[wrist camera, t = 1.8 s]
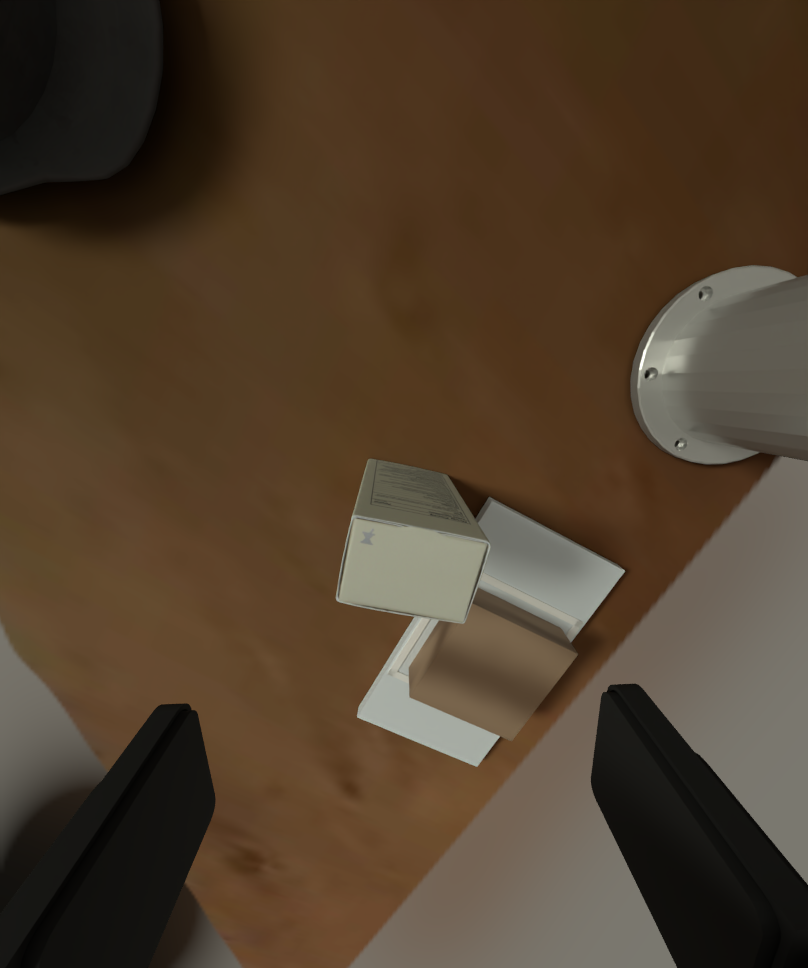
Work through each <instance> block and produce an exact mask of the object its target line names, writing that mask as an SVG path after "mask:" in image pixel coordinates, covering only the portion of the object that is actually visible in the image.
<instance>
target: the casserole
mask: <svg viewBox="0 0 808 968" xmlns="http://www.w3.org/2000/svg"><path fill="white" fill-rule="evenodd" d="M162 74H163V21H162V14H161V7H160V0H0V195H3V194H7V193H10V192H14V191H17V190H21V189H24V188H28V187H31V186H35V185H38V184H41V183H45V182H79V181H90V180H102V179H108V178H110V177H111V176H113V175H114V174H116V173H118V172H119V171H121V170H122V169H124V168H125V167H127V166H128V165H129V164H130V162H131V161H132V159H133V158H134V156H135V155H136V153H137V152H138V150H139V149H140V147H141V146H142V144H143V143H144V141H145V138H146V135H147V133H148V130H149V127H150V125H151V122H152V119H153V117H154V114H155V111H156V107H157V102H158V96H159V90H160V85H161V79H162Z"/></svg>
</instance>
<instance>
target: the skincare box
mask: <svg viewBox="0 0 808 968" xmlns="http://www.w3.org/2000/svg"><path fill="white" fill-rule="evenodd" d="M490 549H491V543H490V542H489V540H488V539H487V537H486V535H485V534H484V532H483V531H482V529H481V528H480V526H479V524H478V523H477V521H476V520H475V518H474V516H473V515H472V513H471V512H470V510H469V508H468V507H467V505H466V504H465V502H464V500H463V499H462V497H461V496H460V494H459V493H458V491H457V489H456V488H455V486H454V485H453V483H452V481H451V480H450V478H449V477H448V475H446V474H442V473H438V472H434V471H430V470H425V469H421V468H417V467H412V466H407V465H402V464H397V463H392V462H387V461H381V460H375V459H368V462H367V465H366V469H365V472H364V476H363V479H362V483H361V487H360V490H359V494H358V498H357V501H356V505H355V508H354V511H353V515H352V518H351V523H350V527H349V531H348V535H347V540H346V544H345V549H344V554H343V559H342V564H341V569H340V574H339V580H338V587H337V593H336V600H337V601H338V602H341V603H345V604H349V605H354V606H359V607H363V608H368V609H373V610H378V611H384V612H390V613H395V614H401V615H407V616H413V617H419V618H426V619H432V620H440V621H446V622H454V623H460V624H464V623H465V622H466V619H467V616H468V613H469V610H470V608H471V605H472V603H473V599H474V597H475V594H476V591H477V589H478V586H479V582H480V580H481V577H482V574H483V571H484V568H485V565H486V562H487V559H488V555H489V552H490Z"/></svg>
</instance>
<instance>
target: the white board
mask: <svg viewBox="0 0 808 968" xmlns="http://www.w3.org/2000/svg"><path fill="white" fill-rule="evenodd" d="M475 520H476V521H477V523H478V524H479V526H480V528H481V529H482V531H483V532H484V534H485V535H486V537H487V539H488V540H489V542H490V543H491V549H490V552H489V555H488V559H487V562H486V565H485V568H484V571H483V574H482V577H481V580H480V582H479V586H478V588H480V589H482V590H484V591H486V592H488V593H490V594H492V595H494V596H497V597H499V598H501V599H503V600H505V601H507V602H509V603H511V604H513V605H515V606H517V607H519V608H521V609H523V610H525V611H527V612H529V613H531V614H533V615H535V616H537V617H540V618H542V619H544V620H546V621H548V622H550V623H552V624H554V625H556V626H558V627H560V628H561V629H562V630H563V632H564V633H565V635H566V636H567V638H568V639H569V641H570V642H572V641H573V639H574V638H575V637H576V635H577V634H578V633H579V631H580V630H581V629H582V627H583V626H584V625H585V624H586V622H587V621H588V620H589V618H590V617H591V616H592V614H593V613H594V612H595V610H596V609H597V608H598V606H599V605H600V604H601V602H602V601H603V600H604V598H605V597H606V596H607V594H608V593H609V592H610V591H611V589H612V588H613V587H614V585H615V584H616V583H617V581H618V580H619V579H620V577H621V576H622V575H623V573H624V572H625V570H624V569H622V568H621V567H620V566H619V565H617V564H615V563H614V562H612V561H610V560H608V559H606V558H604V557H602V556H600V555H598V554H597V553H595V552H593V551H591V550H589V549H587V548H585V547H583V546H581V545H580V544H578V543H576V542H574V541H572V540H570V539H568V538H566V537H564V536H562V535H561V534H559V533H557V532H555V531H553V530H551V529H549V528H547V527H545V526H544V525H542V524H540V523H538V522H536V521H534V520H532V519H530V518H528V517H527V516H525V515H523V514H521V513H519V512H517V511H515V510H513V509H511V508H509V507H508V506H506V505H504V504H502V503H500V502H498V501H496V500H494V499H492V498H491V497H489V498H488V499H487V501H486V502H485V504H484V506H483V507H482V509H481V510H480V512H479V514H478V515H477V517H476V519H475ZM438 621H439V620H432V619H426V618H419V617H414V618H413V620H412V622H411V623H410V625H409V627H408V628H407V630H406V631H405V633H404V635H403V636H402V638H401V639H400V641H399V643H398V644H397V646H396V647H395V649H394V651H393V652H392V654H391V656H390V657H389V659H388V660H387V662H386V664H385V665H384V667H383V668H382V670H381V672H380V673H379V675H378V676H377V678H376V680H375V681H374V683H373V685H372V686H371V688H370V689H369V691H368V693H367V694H366V696H365V697H364V699H363V701H362V702H361V704H360V705H359V707H358V714H357V717H358V718H360V719H362V720H365V721H367V722H370V723H372V724H375V725H377V726H379V727H382V728H384V729H387V730H389V731H392V732H394V733H396V734H399V735H401V736H404V737H406V738H408V739H411V740H413V741H416V742H418V743H421V744H423V745H425V746H428V747H430V748H433V749H435V750H437V751H440V752H442V753H445V754H447V755H450V756H452V757H454V758H457V759H459V760H462V761H464V762H466V763H469V764H471V765H474V766H476V767H477V766H478V765H479V763H480V762H481V761H482V760H483V758H484V757H485V756H486V754H487V753H488V752H489V750H490V749H491V748H492V746H493V745H494V744H495V742H496V741H497V740H498V738H499V737H500V736H498V735H496V734H493V733H491V732H489V731H486V730H484V729H482V728H479V727H477V726H475V725H473V724H470V723H468V722H466V721H463V720H461V719H459V718H456V717H454V716H452V715H449V714H447V713H445V712H442V711H440V710H438V709H435V708H433V707H431V706H428V705H426V704H424V703H421V702H419V701H417V700H414V699H412V698H410V697H409V666H410V665H411V663H412V662H413V660H414V658H415V657H416V655H417V654H418V652H419V651H420V649H421V648H422V646H423V644H424V643H425V641H426V640H427V638H428V637H429V635H430V634H431V632H432V630H433V629H434V627H435V626H436V624H437V623H438Z"/></svg>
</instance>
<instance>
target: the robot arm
mask: <svg viewBox="0 0 808 968" xmlns="http://www.w3.org/2000/svg"><path fill="white" fill-rule="evenodd" d="M645 373H646V375H644V374H645ZM631 400H632V405H633V410H634V414H635V416H636V418H637V421H638V423H639V425H640V427H641V429H642V430H643V432H644V433H645V434H646V436H647V437H648V438H649V440H650V441H651V442H653V443H654V444H655V445H656V446H657V447H659V448H660V449H661V450H662V451H664V452H666V453H668V454H670V455H672V456H674V457H676V458H680V459H683V460H687V461H690V462H695V463H701V464H726V463H730V462H735V461H740V460H743V459H745V458H748V457H750V456H753V455H755V454H758V453H760V452H762V453H768V454H773V455H778V456H783V457H789V458H794V459H800V460H805V461H808V275H806V276H802V277H796V276H794V275H793V274H791V273H790V272H787V271H784V270H781V269H778V268H774V267H769V266H756V265H752V266H744V267H737V268H732V269H729V270H726V271H723V272H719V273H716V274H713V275H711V276H709V277H706V278H704V279H702V280H700V281H697V282H695V283H694V284H692V285H691V286H689V287H688V288H686V289H685V290H683V291H682V292H680V293H679V294H677V295H676V296H675V297H674V298H673V299H672V300H671V301H670V302H669V303H668V304H667V305H666V306H665V307H663V308H662V310H661V311H660V312H659V314H658V315H657V316H656V317H655V319H654V320H653V321H652V323H651V324H650V325H649V327H648V329H647V331H646V333H645V334H644V336H643V338H642V340H641V342H640V344H639V347H638V350H637V353H636V356H635V358H634V362H633V367H632V373H631ZM591 785H592V790H593V793H594V796H595V799H596V801H597V803H598V805H599V807H600V809H601V811H602V813H603V815H604V818H605V820H606V822H607V824H608V826H609V828H610V830H611V832H612V834H613V836H614V838H615V840H616V842H617V844H618V846H619V848H620V851H621V852H622V855H623V856H624V859H625V861H626V863H627V865H628V867H629V869H630V871H631V873H632V875H633V877H634V879H635V881H636V884H637V886H638V888H639V890H640V892H641V894H642V896H643V898H644V900H645V902H646V904H647V906H648V908H649V910H650V912H651V914H652V916H653V919H654V921H655V922H656V925H657V927H658V929H659V931H660V933H661V935H662V937H663V939H664V941H665V943H666V945H667V948H668V949H669V952H670V954H671V956H672V958H673V960H674V962H675V964H676V966H677V968H808V885H807V883H806V882H805V881H804V880H803V879H802V877H801V876H800V875H799V874H798V872H797V871H796V870H795V869H794V868H793V867H792V865H791V864H790V863H789V862H788V860H787V859H786V858H785V857H784V856H783V855H782V853H781V852H780V851H779V850H778V848H777V847H776V846H775V845H774V843H773V842H772V841H771V840H770V839H769V838H768V836H767V835H766V834H765V833H764V831H763V830H762V829H761V828H760V827H759V825H758V824H757V823H756V822H755V821H754V819H753V818H752V817H751V816H750V814H749V813H748V812H747V811H746V810H745V808H744V807H743V806H742V805H741V804H740V802H739V801H738V800H737V799H736V797H735V796H734V795H733V794H732V793H731V791H730V790H729V789H728V788H727V787H726V785H725V784H724V783H723V782H722V781H721V779H720V778H719V777H718V776H717V774H716V773H715V772H714V771H713V770H712V769H711V767H710V766H709V765H708V764H707V763H706V762H705V761H704V759H703V758H701V756H700V755H698V754H697V753H695V752H694V751H693V750H692V749H691V747H690V746H689V745H688V744H687V743H686V742H685V740H684V739H683V738H682V736H681V735H680V734H679V733H678V731H677V730H676V729H675V728H674V727H673V726H672V724H671V723H670V722H669V721H668V720H667V718H666V717H665V716H664V714H663V713H662V712H661V711H660V710H659V708H658V707H657V706H656V705H655V703H654V702H653V701H652V700H651V698H650V697H649V696H648V695H647V694H646V692H645V691H644V690H643V689H642V688H641V687H640V686H639V685H637V684H622V685H621V684H618V685H610V686H609V687H608V690H607V692H603V694H602V696H601V704H600V711H599V719H598V727H597V735H596V742H595V750H594V758H593V766H592V774H591ZM214 808H215V793H214V788H213V783H212V779H211V774H210V769H209V765H208V760H207V755H206V751H205V746H204V741H203V737H202V732H201V727H200V723H199V718H198V714H197V712H196V711H195V710H191V707H190V705H189V704H164V705H160V706H158V707H157V708H156V709H155V710H154V711H153V713H152V714H151V715H150V717H149V718H148V719H147V721H146V722H145V723H144V725H143V726H142V727H141V729H140V730H139V731H138V733H137V734H136V735H135V737H134V738H133V740H132V741H131V742H130V744H129V745H128V746H127V748H126V749H125V750H124V752H123V753H122V754H121V756H120V757H119V758H118V760H117V761H116V762H115V764H114V765H113V766H112V768H111V769H110V771H109V772H108V773H107V775H106V776H105V778H104V779H103V780H102V781H101V782H100V783H99V784H98V785H97V786H96V787H95V789H94V790H93V791H92V792H91V793H90V795H89V796H88V797H87V799H86V800H85V801H84V803H83V804H82V805H81V807H80V808H79V809H78V811H77V812H76V814H75V815H74V816H73V817H72V819H71V820H70V821H69V823H68V824H67V825H66V827H65V828H64V829H63V831H62V832H61V833H60V835H59V836H58V837H57V839H56V840H55V842H54V843H53V844H52V846H51V847H50V848H49V850H48V851H47V852H46V853H45V855H44V856H43V858H42V859H41V860H40V862H39V863H38V864H37V866H36V867H35V868H34V870H33V871H32V872H31V874H30V875H29V876H28V878H27V879H26V880H25V882H24V883H23V884H22V886H21V887H20V888H19V890H18V891H17V893H16V894H15V895H14V896H13V898H12V899H11V900H10V902H9V903H8V904H7V906H6V907H5V908H4V910H3V911H2V912H1V914H0V968H148V967H149V965H150V962H151V960H152V957H153V955H154V953H155V950H156V948H157V946H158V943H159V941H160V938H161V936H162V934H163V931H164V929H165V927H166V924H167V922H168V920H169V917H170V915H171V913H172V910H173V908H174V906H175V903H176V900H177V898H178V896H179V894H180V891H181V889H182V887H183V884H184V882H185V880H186V877H187V875H188V873H189V870H190V868H191V866H192V863H193V861H194V858H195V856H196V854H197V851H198V849H199V847H200V844H201V842H202V840H203V837H204V835H205V833H206V830H207V828H208V825H209V823H210V821H211V818H212V815H213V812H214Z"/></svg>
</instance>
